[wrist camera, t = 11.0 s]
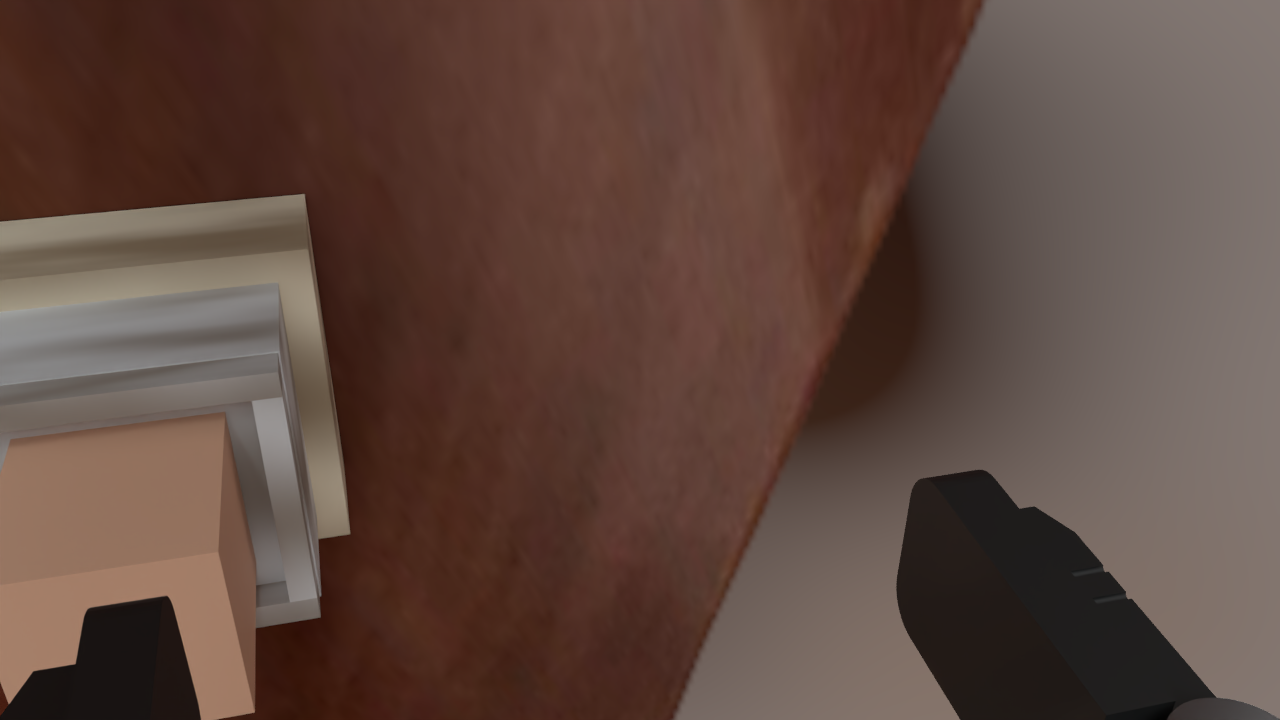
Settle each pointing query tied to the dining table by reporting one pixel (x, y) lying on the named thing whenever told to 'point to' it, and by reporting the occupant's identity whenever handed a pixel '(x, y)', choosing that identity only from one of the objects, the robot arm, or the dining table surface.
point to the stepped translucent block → (187, 357)
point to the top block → (129, 548)
